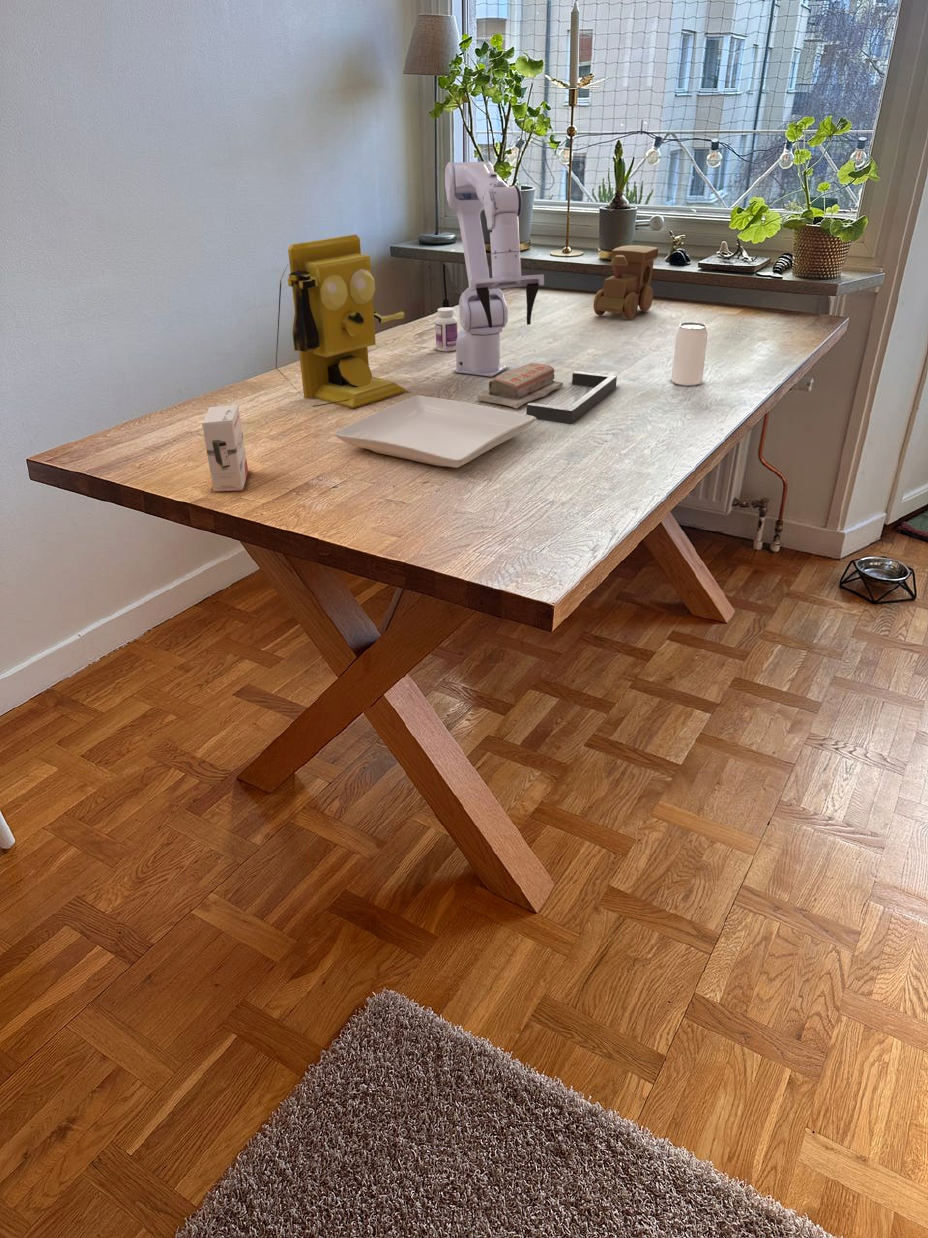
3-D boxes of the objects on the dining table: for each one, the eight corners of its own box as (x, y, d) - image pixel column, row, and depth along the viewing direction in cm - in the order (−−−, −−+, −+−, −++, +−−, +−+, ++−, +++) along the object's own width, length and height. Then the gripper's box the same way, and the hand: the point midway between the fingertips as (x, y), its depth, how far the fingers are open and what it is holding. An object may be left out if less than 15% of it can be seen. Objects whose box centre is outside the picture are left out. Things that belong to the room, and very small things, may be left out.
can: (703, 379, 195) (710, 322, 189) (700, 387, 190) (707, 329, 184) (673, 376, 197) (679, 320, 191) (669, 385, 192) (675, 327, 186)
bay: (526, 417, 175) (526, 404, 174) (574, 382, 195) (575, 370, 194) (571, 423, 171) (572, 410, 170) (616, 387, 191) (617, 375, 190)
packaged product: (524, 358, 194) (564, 365, 189) (523, 380, 196) (563, 388, 191) (476, 378, 182) (517, 385, 176) (476, 401, 184) (516, 409, 179)
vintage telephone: (316, 420, 175) (300, 257, 160) (273, 406, 183) (253, 250, 168) (428, 385, 195) (423, 236, 179) (385, 373, 203) (376, 230, 188)
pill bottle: (458, 346, 223) (458, 306, 218) (456, 351, 218) (455, 311, 214) (437, 346, 224) (436, 306, 219) (434, 351, 219) (433, 311, 214)
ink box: (220, 472, 152) (209, 404, 146) (249, 471, 153) (239, 403, 146) (212, 492, 145) (200, 421, 139) (243, 491, 145) (232, 420, 139)
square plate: (460, 480, 147) (460, 458, 145) (331, 452, 160) (329, 430, 158) (537, 433, 167) (538, 412, 165) (417, 410, 180) (416, 391, 178)
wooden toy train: (619, 304, 262) (624, 243, 253) (656, 308, 256) (662, 246, 248) (589, 318, 248) (592, 253, 239) (627, 322, 242) (632, 257, 234)
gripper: (468, 254, 173) (473, 328, 177) (543, 248, 172) (546, 323, 176) (469, 257, 179) (474, 328, 183) (541, 251, 178) (545, 323, 183)
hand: (509, 326), depth 180 cm, fingers open, 7 cm apart
